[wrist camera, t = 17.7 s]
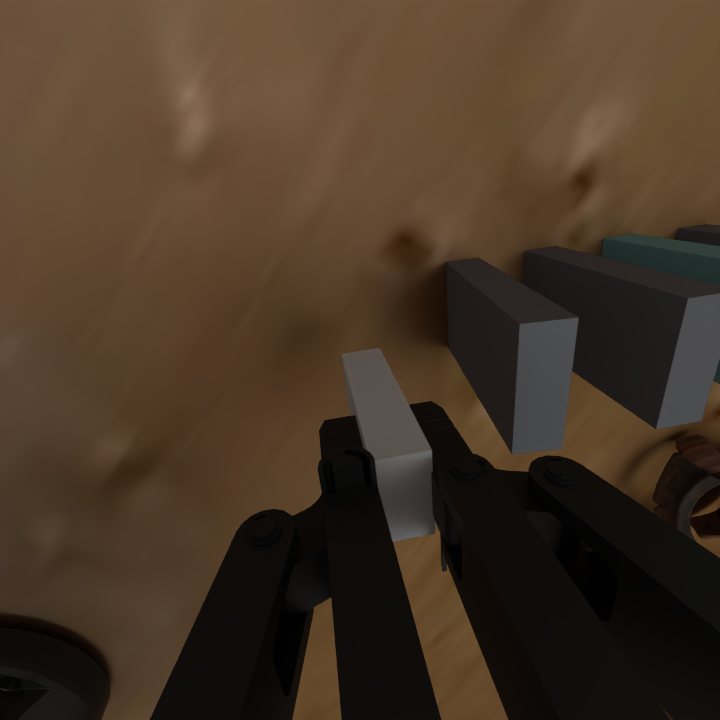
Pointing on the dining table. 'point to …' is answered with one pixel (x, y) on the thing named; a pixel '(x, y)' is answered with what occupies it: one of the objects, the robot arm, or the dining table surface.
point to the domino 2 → (636, 331)
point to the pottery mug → (689, 487)
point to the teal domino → (667, 258)
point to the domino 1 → (512, 353)
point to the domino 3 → (700, 234)
